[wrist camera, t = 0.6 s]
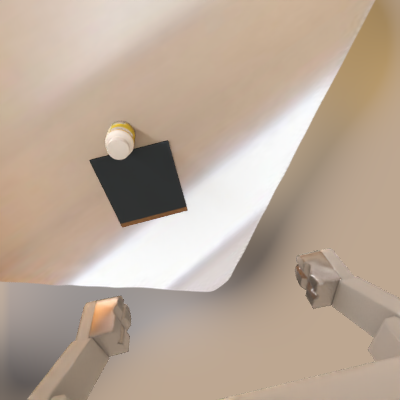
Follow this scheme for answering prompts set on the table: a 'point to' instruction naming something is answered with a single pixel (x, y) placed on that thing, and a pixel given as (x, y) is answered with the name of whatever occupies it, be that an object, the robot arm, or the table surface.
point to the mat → (141, 184)
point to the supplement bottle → (120, 140)
